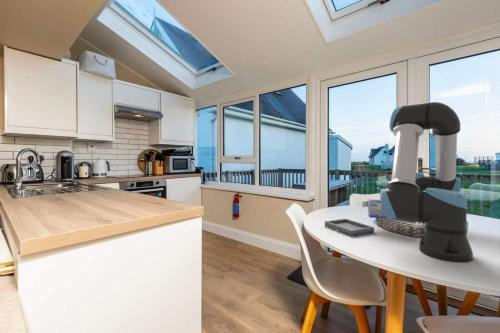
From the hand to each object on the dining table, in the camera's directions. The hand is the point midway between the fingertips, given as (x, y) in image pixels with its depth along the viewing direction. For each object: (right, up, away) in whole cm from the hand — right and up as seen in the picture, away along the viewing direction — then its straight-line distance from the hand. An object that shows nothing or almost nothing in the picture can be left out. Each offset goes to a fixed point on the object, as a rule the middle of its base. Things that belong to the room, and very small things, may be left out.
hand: (370, 205), depth 116 cm
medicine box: (+4, -6, +2) cm, 8 cm away
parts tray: (-10, -12, +2) cm, 16 cm away
